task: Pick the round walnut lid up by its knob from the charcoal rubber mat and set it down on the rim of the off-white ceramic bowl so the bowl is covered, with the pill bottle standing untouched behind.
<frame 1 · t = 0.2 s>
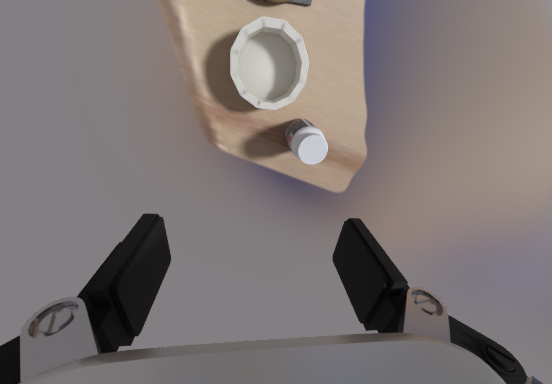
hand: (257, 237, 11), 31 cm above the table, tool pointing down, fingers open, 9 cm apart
bowl: (267, 68, 33), on the table
pill bottle: (299, 133, 39), on the table
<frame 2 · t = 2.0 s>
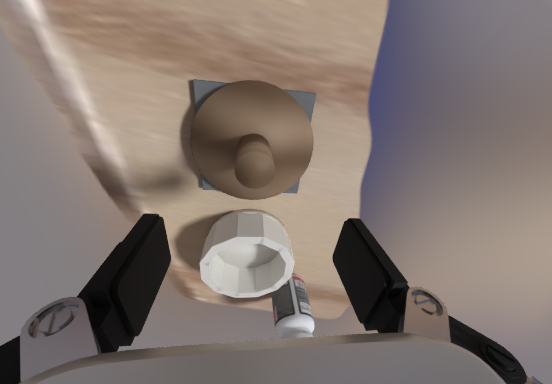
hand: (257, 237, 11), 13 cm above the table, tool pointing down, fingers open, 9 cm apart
mat: (253, 144, 22), on the table
lid: (254, 146, 21), point 1 cm above the table, touching mat
bowl: (248, 240, 29), on the table
pill bottle: (287, 282, 35), on the table
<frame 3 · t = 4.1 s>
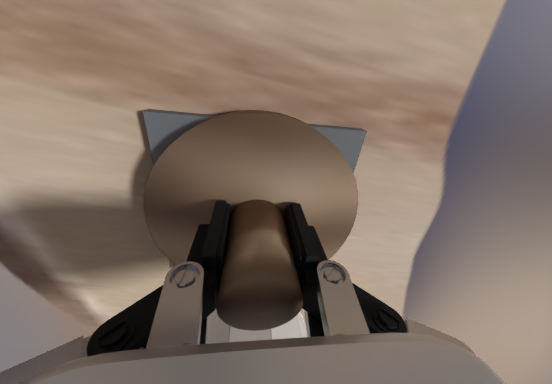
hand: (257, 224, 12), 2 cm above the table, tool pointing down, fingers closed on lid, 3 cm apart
mat: (256, 207, 13), on the table
lid: (256, 212, 13), point 1 cm above the table, touching gripper, mat
bowl: (247, 325, 20), on the table
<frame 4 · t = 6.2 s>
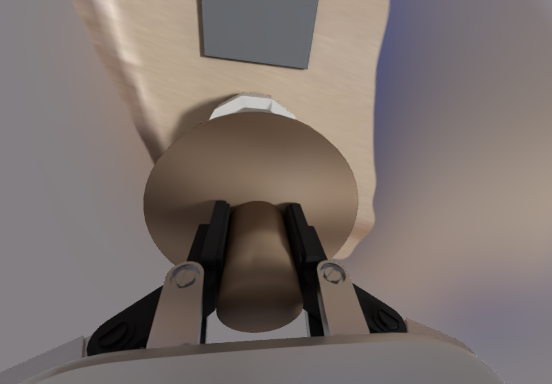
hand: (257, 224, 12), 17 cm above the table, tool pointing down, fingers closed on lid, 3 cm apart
lid: (256, 213, 13), point 16 cm above the table, touching gripper
bowl: (253, 139, 27), on the table
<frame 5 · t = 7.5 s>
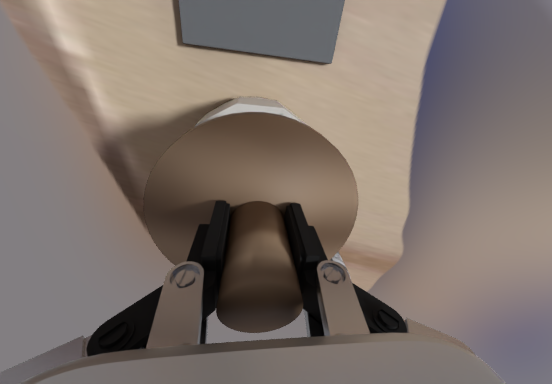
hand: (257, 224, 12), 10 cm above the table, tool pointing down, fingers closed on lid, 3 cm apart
lid: (256, 213, 13), point 9 cm above the table, touching gripper
bowl: (254, 158, 20), on the table
when the fingers open (8 cm above the table, at t = 8.6 s): lid drops 1 cm, resting on bowl.
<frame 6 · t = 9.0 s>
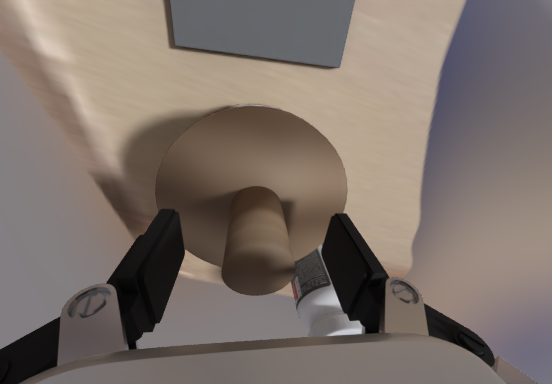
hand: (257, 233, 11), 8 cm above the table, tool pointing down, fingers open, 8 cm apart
lid: (256, 199, 14), point 5 cm above the table, touching bowl
pill bottle: (308, 249, 24), on the table
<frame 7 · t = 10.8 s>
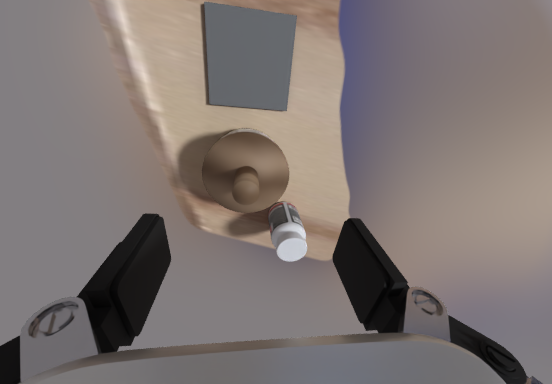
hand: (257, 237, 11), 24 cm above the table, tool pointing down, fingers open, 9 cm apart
mat: (250, 63, 27), on the table
lid: (246, 174, 29), point 5 cm above the table, touching bowl
pill bottle: (282, 212, 40), on the table
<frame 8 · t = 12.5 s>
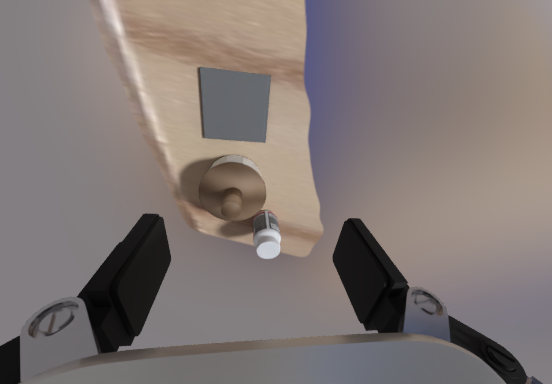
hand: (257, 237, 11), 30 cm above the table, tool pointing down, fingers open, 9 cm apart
mat: (236, 108, 35), on the table
lid: (233, 192, 38), point 5 cm above the table, touching bowl
bowl: (235, 180, 42), on the table
pill bottle: (265, 218, 48), on the table
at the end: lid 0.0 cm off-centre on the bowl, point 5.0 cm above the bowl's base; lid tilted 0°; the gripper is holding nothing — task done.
